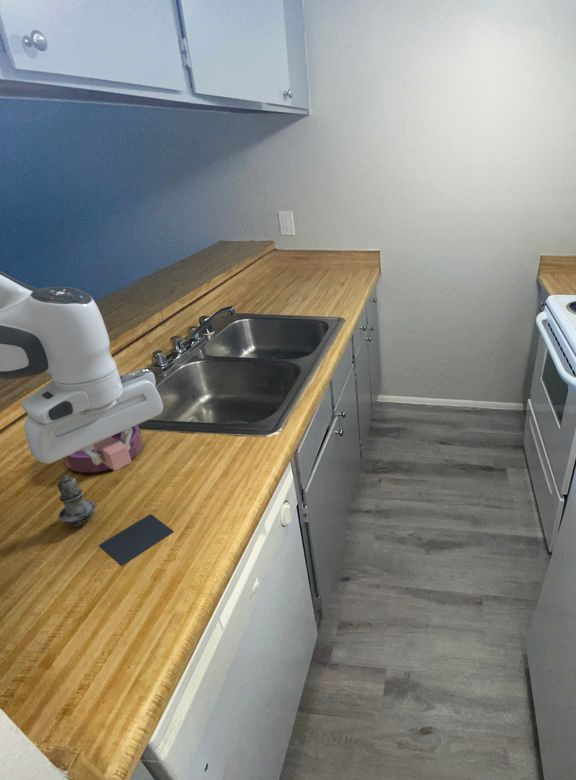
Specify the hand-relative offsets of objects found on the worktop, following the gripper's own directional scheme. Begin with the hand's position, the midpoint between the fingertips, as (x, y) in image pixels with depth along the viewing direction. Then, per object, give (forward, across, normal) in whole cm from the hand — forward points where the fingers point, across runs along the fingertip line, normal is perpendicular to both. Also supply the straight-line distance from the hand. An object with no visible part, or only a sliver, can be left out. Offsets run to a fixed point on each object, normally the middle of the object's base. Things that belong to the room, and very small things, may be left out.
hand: (111, 456), depth 83 cm
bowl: (+17, -9, -27) cm, 33 cm away
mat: (+17, +1, +4) cm, 18 cm away
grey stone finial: (+17, +5, -9) cm, 20 cm away
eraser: (+1, 0, 0) cm, 1 cm away
